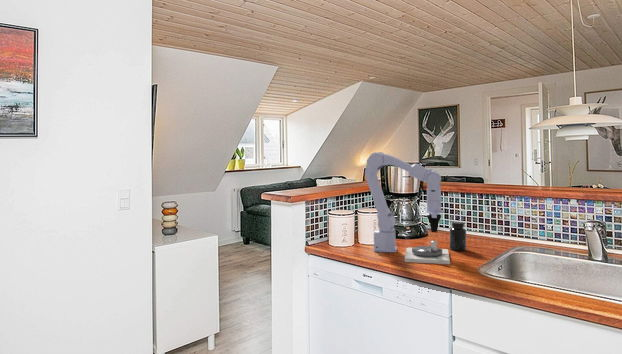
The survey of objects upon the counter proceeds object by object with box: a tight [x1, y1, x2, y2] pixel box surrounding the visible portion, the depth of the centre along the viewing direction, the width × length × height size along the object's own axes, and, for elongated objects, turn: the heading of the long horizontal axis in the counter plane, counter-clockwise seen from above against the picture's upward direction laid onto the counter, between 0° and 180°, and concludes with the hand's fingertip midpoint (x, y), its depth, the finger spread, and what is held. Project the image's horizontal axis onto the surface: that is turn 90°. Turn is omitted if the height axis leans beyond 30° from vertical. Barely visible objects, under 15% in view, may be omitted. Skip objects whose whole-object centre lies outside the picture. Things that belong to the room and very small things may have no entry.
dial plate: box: [404, 247, 451, 265], centre depth 157 cm, size 17×17×2 cm
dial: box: [411, 240, 443, 257], centre depth 157 cm, size 12×12×6 cm
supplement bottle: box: [449, 221, 467, 252], centre depth 167 cm, size 7×7×12 cm
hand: (434, 231), depth 161 cm, fingers closed
